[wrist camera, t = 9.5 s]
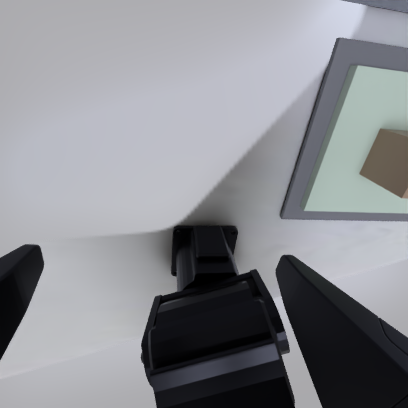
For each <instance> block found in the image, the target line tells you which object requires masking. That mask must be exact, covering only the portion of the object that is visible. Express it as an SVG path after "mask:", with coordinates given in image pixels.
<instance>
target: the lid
mask: <svg viewBox="0 0 408 408" xmlns="http://www.w3.org/2000/svg"><path fill="white" fill-rule="evenodd" d="M300 207H301V208H302V209H303V210H304V211H327V212H366V213H406V214H408V72H402V71H395V70H387V69H380V68H373V67H366V66H359V65H350V68H349V71H348V74H347V76H346V79H345V82H344V85H343V88H342V90H341V93H340V96H339V99H338V102H337V104H336V107H335V110H334V113H333V116H332V118H331V121H330V124H329V127H328V130H327V132H326V135H325V138H324V141H323V144H322V146H321V149H320V152H319V155H318V158H317V160H316V163H315V166H314V169H313V172H312V174H311V177H310V180H309V183H308V186H307V188H306V191H305V194H304V197H303V200H302V202H301V205H300Z"/></svg>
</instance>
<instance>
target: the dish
mask: <svg viewBox="0 0 408 408" xmlns="http://www.w3.org/2000/svg"><path fill="white" fill-rule="evenodd" d="M343 1H348V2H354V3H359V4H364V5H370V6H375V7H380V8H386V9H391V10H397V11H402V12H407V13H408V0H343Z"/></svg>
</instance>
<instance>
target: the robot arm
mask: <svg viewBox="0 0 408 408" xmlns="http://www.w3.org/2000/svg"><path fill="white" fill-rule="evenodd" d="M177 230H180V232H177ZM232 231H234V232H232ZM237 235H238V230H237V228H236V227H233V226H176V227H174V229H173V244H172V265H171V274H172V275H173V276H177V292H175V293H171V294H167V295H164V296H162V295H159V296H155V298H154V302H153V305H152V308H151V312H150V315H149V318H148V322H147V325H146V329H145V332H144V336H143V339H142V343H141V347H142V353H141V360H142V363H143V364H144V368H145V373H146V376H147V379H148V382H149V383H150V385H151V386H152V387H153V390H154V394H155V400H156V405H157V408H295V406H294V405H295V404H294V403H295V400H294V395H293V392H292V389H291V385H290V382H289V379H288V375H287V372H286V369H285V366H284V362H283V359H282V356H281V355H282V354H286V353H289V352H290V349H289V344H288V340H287V336H286V332H285V329H284V326H283V323H282V320H281V318H280V315H279V313H278V310H277V308H276V306H275V303H274V301H273V299H272V297H271V295H270V293H269V291H268V290H267V288H266V286H265V284H264V282H263V280H262V279H261V277H260V275H259V273H258V271H257V270H256V269H254V270H250V272H248V273H244V274H240V275H239V273H238V270H237V267H236V264H235V261H234V258H233V253H234V249H235V244H236V240H237ZM43 268H44V261H43V256H42V252H41V248H40V246H39V245H32V244H25V245H23V246H21V247H19V248H17V249H15V250H14V251H12V252H10V253H8V254H6V255H4V256H3V257H1V258H0V360H1V358H2V356H3V354H4V353H5V351H6V349H7V347H8V345H9V343H10V341H11V339H12V338H13V336H14V334H15V332H16V330H17V328H18V326H19V324H20V323H21V321H22V319H23V317H24V315H25V313H26V311H27V308H28V306H29V304H30V301H31V299H32V296H33V294H34V291H35V289H36V286H37V284H38V281H39V278H40V276H41V273H42V271H43ZM175 271H177V272H175ZM276 277H277V281H278V285H279V288H280V292H281V296H282V300H283V303H284V306H285V310H286V313H287V315H288V318H289V321H290V324H291V326H292V329H293V331H294V334H295V337H296V339H297V342H298V345H299V347H300V350H301V352H302V355H303V358H304V360H305V363H306V366H307V368H308V371H309V373H310V376H311V379H312V381H313V384H314V387H315V389H316V392H317V394H318V397H319V400H320V402H321V405H322V407H323V408H408V338H407V337H406V336H405V335H403V334H402V333H400V332H399V331H398V330H396V329H394V328H393V327H392V326H390V325H389V324H387V323H386V322H385V321H384V320H382V319H381V318H378V316H377V315H375V314H374V313H372V312H371V311H370V310H368V309H366V308H365V307H364V306H363V305H361V304H360V303H358V302H357V301H356V300H354V299H353V298H351V297H350V296H349V295H347V294H346V293H345V292H343V291H342V290H340V289H339V288H337V287H336V286H335V285H333V284H332V283H331V282H329V281H328V280H326V279H325V278H324V277H322V276H321V275H319V274H318V273H317V272H315V271H314V270H313V269H311V268H310V267H308V266H307V265H306V264H304V263H303V262H301V261H300V260H299V259H297V258H296V257H294V256H293V255H283V256H281V258H280V261H279V263H278V265H277V268H276Z"/></svg>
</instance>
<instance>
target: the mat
mask: <svg viewBox="0 0 408 408" xmlns="http://www.w3.org/2000/svg"><path fill="white" fill-rule="evenodd" d="M350 65H359V66H366V67H373V68H380V69H387V70H395V71H402V72H408V48H403V47H396V46H390V45H383V44H377V43H371V42H364V41H358V40H352V39H345V38H337V39H336V42H335V45H334V48H333V52H332V55H331V58H330V61H329V64H328V67H327V71H326V74H325V77H324V80H323V83H322V86H321V90H320V93H319V96H318V99H317V102H316V105H315V109H314V112H313V115H312V118H311V121H310V124H309V128H308V131H307V134H306V137H305V140H304V143H303V147H302V150H301V153H300V156H299V159H298V162H297V166H296V169H295V172H294V175H293V178H292V181H291V185H290V188H289V191H288V194H287V197H286V200H285V204H284V207H283V210H282V213H281V216H280V217H281V219H302V220H358V221H408V214H406V213H366V212H327V211H304V210H303V209H302V208H301V207H300V205H301V202H302V200H303V197H304V194H305V191H306V188H307V186H308V183H309V180H310V177H311V174H312V172H313V169H314V166H315V163H316V160H317V158H318V155H319V152H320V149H321V146H322V144H323V141H324V138H325V135H326V132H327V130H328V127H329V124H330V121H331V118H332V116H333V113H334V110H335V107H336V104H337V102H338V99H339V96H340V93H341V90H342V88H343V85H344V82H345V79H346V76H347V74H348V71H349V68H350Z"/></svg>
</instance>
